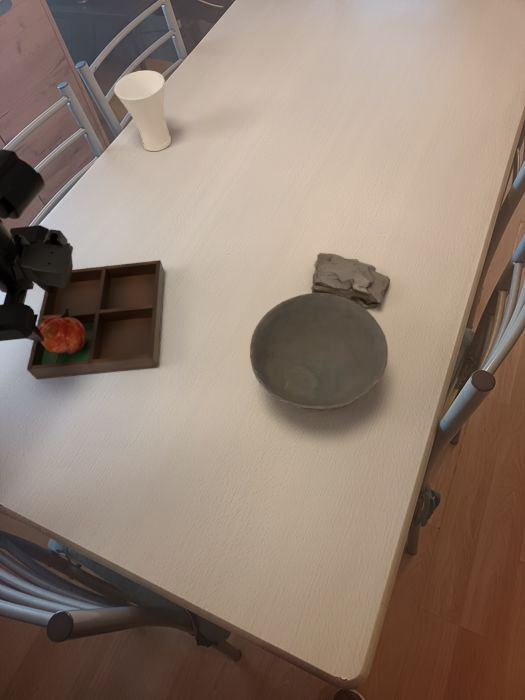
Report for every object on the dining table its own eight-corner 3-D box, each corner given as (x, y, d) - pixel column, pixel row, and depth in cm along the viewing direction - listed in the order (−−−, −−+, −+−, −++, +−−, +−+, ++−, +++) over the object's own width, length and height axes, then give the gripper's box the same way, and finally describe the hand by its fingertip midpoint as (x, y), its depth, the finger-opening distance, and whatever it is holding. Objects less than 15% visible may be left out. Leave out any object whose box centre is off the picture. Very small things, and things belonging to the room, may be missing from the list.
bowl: (233, 375, 79) (223, 341, 70) (323, 311, 84) (323, 272, 75) (310, 464, 70) (309, 436, 62) (405, 386, 75) (417, 351, 67)
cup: (166, 160, 109) (149, 102, 98) (126, 153, 112) (104, 95, 101) (187, 132, 114) (173, 73, 103) (148, 125, 117) (130, 67, 106)
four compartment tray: (36, 379, 82) (26, 369, 79) (57, 283, 93) (49, 272, 90) (158, 367, 81) (153, 357, 78) (164, 271, 92) (160, 260, 89)
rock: (393, 274, 86) (396, 258, 83) (379, 314, 82) (381, 300, 79) (319, 256, 90) (319, 240, 87) (301, 294, 86) (300, 279, 83)
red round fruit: (85, 374, 83) (103, 319, 81) (46, 375, 77) (65, 315, 75) (59, 356, 87) (76, 303, 85) (20, 355, 81) (37, 298, 79)
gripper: (37, 295, 58) (89, 362, 71) (63, 187, 68) (104, 264, 81) (-55, 304, 59) (14, 370, 72) (-16, 196, 68) (38, 271, 82)
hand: (46, 315), depth 77 cm, fingers open, 9 cm apart
